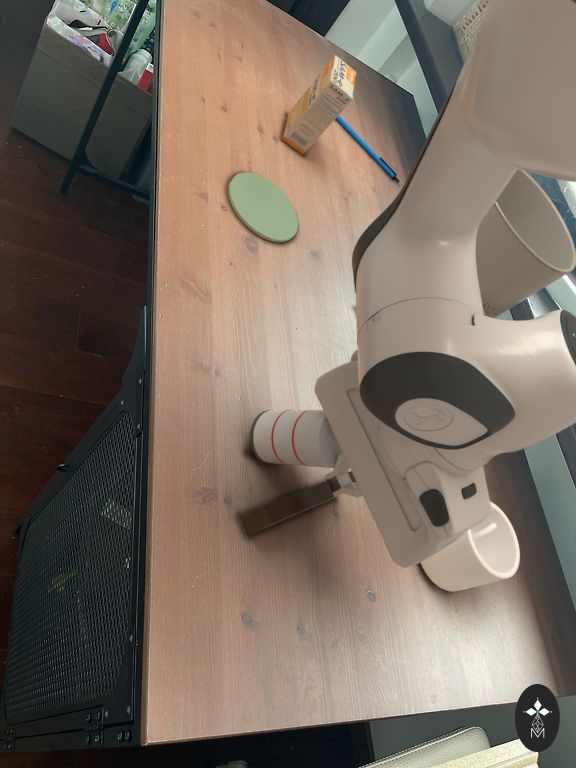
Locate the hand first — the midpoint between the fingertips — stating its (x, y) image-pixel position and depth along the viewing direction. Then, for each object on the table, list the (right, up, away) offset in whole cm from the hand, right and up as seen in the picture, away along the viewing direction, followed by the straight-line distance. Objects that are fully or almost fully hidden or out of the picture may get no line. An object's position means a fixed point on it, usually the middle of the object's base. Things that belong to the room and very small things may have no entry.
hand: (333, 484), depth 65 cm
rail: (-4, -3, +5) cm, 7 cm away
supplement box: (-4, +53, +41) cm, 67 cm away
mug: (+15, -11, +17) cm, 25 cm away
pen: (+10, +56, +54) cm, 78 cm away
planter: (+12, +22, +35) cm, 44 cm away
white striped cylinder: (-6, +1, +5) cm, 8 cm away
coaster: (-8, +36, +26) cm, 46 cm away
